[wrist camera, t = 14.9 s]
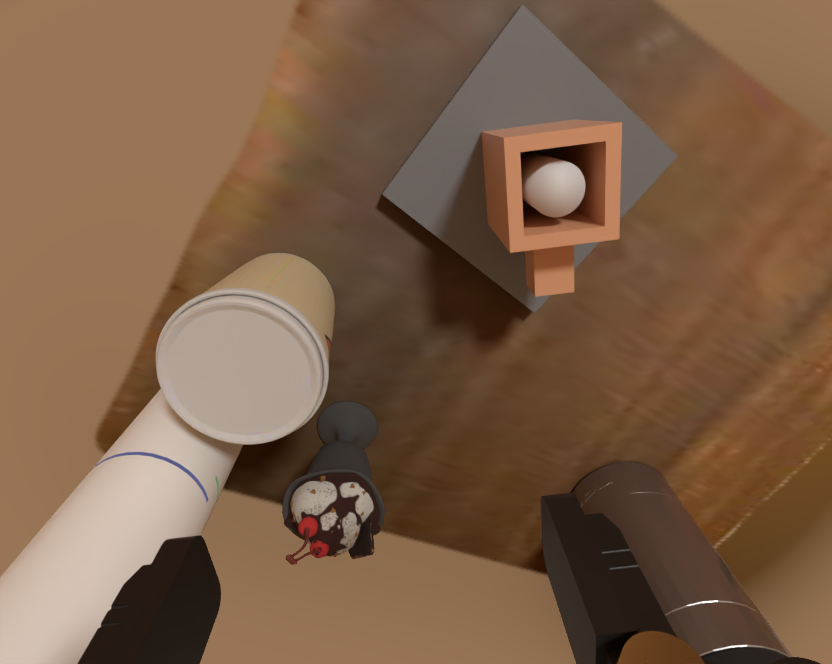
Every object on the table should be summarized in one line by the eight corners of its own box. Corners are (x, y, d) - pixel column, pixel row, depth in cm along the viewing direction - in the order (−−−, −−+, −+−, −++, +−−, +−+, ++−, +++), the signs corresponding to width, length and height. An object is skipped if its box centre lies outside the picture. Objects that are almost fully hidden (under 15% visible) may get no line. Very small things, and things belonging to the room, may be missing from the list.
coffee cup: (290, 381, 42) (251, 477, 31) (193, 302, 40) (113, 376, 28) (372, 303, 40) (362, 377, 29) (276, 213, 37) (224, 257, 26)
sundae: (296, 399, 43) (247, 537, 29) (378, 384, 43) (367, 516, 29) (317, 466, 46) (282, 621, 32) (395, 452, 45) (393, 603, 31)
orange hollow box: (574, 119, 34) (622, 122, 27) (575, 263, 38) (617, 300, 31) (481, 131, 34) (503, 137, 27) (491, 274, 38) (513, 313, 31)
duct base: (669, 154, 37) (740, 166, 29) (530, 307, 41) (561, 353, 33) (518, 7, 33) (554, -23, 25) (382, 191, 37) (378, 212, 29)
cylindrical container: (237, 345, 41) (30, 648, 18) (274, 421, 44) (135, 769, 21) (153, 371, 42) (-153, 695, 19) (194, 444, 44) (-29, 807, 21)
